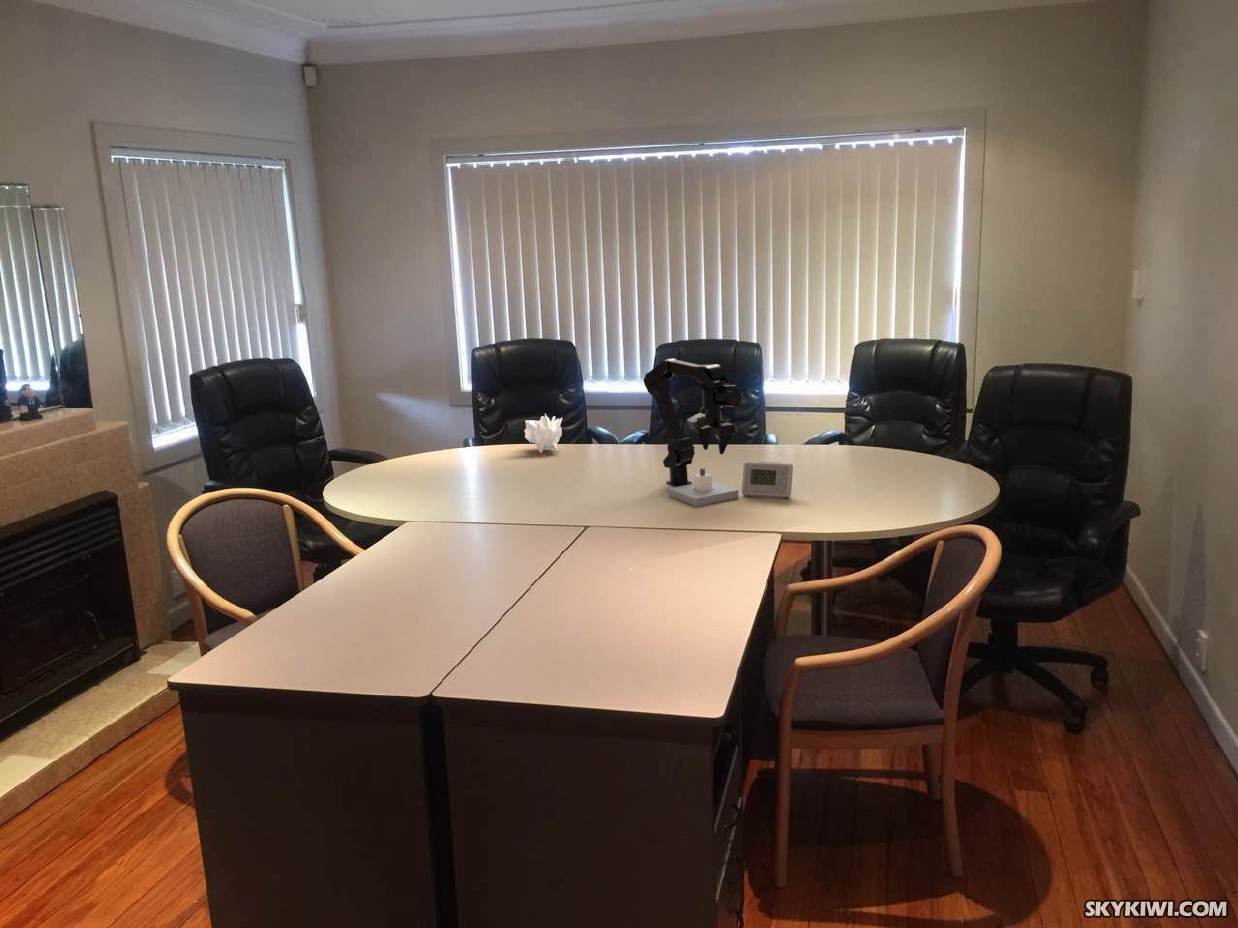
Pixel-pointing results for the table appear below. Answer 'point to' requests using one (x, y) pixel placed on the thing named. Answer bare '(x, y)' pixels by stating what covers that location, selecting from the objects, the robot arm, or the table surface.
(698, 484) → the plug
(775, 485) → the digital clock
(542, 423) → the crumpled paper
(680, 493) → the socket plate
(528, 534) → the table surface
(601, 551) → the table surface
